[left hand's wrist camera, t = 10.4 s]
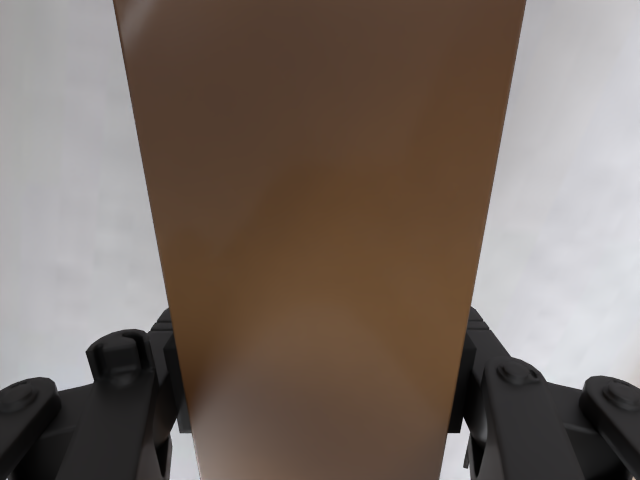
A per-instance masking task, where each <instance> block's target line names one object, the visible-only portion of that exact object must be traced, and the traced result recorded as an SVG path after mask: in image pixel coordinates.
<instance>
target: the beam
mask: <svg viewBox="0 0 640 480" xmlns="http://www.w3.org/2000/svg"><path fill="white" fill-rule="evenodd" d="M113 4H114V9H115V15H116V20H117V26H118V31H119V37H120V42H121V48H122V53H123V59H124V64H125V70H126V75H127V81H128V86H129V91H130V97H131V102H132V108H133V113H134V119H135V124H136V130H137V135H138V141H139V146H140V152H141V157H142V163H143V168H144V174H145V179H146V185H147V190H148V196H149V201H150V206H151V212H152V217H153V223H154V228H155V234H156V239H157V245H158V250H159V256H160V261H161V267H162V272H163V278H164V283H165V289H166V294H167V300H168V305H169V311H170V316H171V321H172V327H173V332H174V338H175V343H176V349H177V354H178V360H179V365H180V371H181V376H182V382H183V387H184V393H185V398H186V404H187V409H188V415H189V420H190V426H191V431H192V436H193V442H194V447H195V453H196V458H197V464H198V469H199V475H200V480H439V477H440V472H441V466H442V461H443V455H444V450H445V444H446V439H447V433H448V428H449V422H450V417H451V411H452V406H453V400H454V395H455V389H456V384H457V378H458V373H459V367H460V362H461V356H462V351H463V345H464V340H465V334H466V329H467V323H468V318H469V312H470V307H471V301H472V296H473V290H474V285H475V279H476V274H477V268H478V263H479V257H480V252H481V246H482V241H483V235H484V230H485V224H486V219H487V213H488V208H489V202H490V197H491V191H492V186H493V180H494V175H495V169H496V164H497V158H498V153H499V147H500V142H501V136H502V131H503V125H504V120H505V114H506V109H507V104H508V98H509V93H510V87H511V82H512V76H513V71H514V65H515V60H516V54H517V49H518V43H519V38H520V32H521V27H522V21H523V16H524V10H525V5H526V0H113Z"/></svg>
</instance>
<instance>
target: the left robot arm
mask: <svg viewBox="0 0 640 480" xmlns="http://www.w3.org/2000/svg"><path fill="white" fill-rule="evenodd" d="M86 355H87V358H88V362H89V365H90V368H91V372H92V375H93V378H94V382H93V383H92V384H89V385H85V386H81V387H76V388H72V389H67V390H63V391H57V388H56V385H55V382H53V381H52V380H51V379H49V378H43V377H37V378H31V379H26V380H23V381H20V382H17V383H14V384H12V385H10V386H8V387H6V388H4V389H2V390H0V480H6V479H7V478H8V480H169V477H170V467H171V456H172V441H171V436H170V431H171V429H172V427H173V425H174V423H175V420H176V418H177V421H178V426H179V431H180V433H192V431H191V426H190V420H189V415H188V409H187V404H186V398H185V393H184V387H183V382H182V376H181V371H180V365H179V360H178V354H177V349H176V343H175V338H174V332H173V327H172V321H171V316H170V311H169V308H168V309H166V310H165V311H164V312H163V313H162V315H161V316H160V317H159V319H158V320H157V323H155V324H154V325H153V327H152V328H151V331H149V332H148V333H146V332H144V331H142V330H137V329H128V330H121V331H117V332H113V333H111V334H108V335H106V336H104V337H102V338H100V339H98V340H97V341H96V342H94V343H93V344H91V346H90V347H89V348H88V349H87V351H86ZM463 417H464V419H465V421H466V424H467V426H468V428H469V430H470V436H469V441H468V445H467V450H466V455H465V459H464V465H463V468H467V469H468V465H469V466H470V476H471V480H632V478H633V476H634V478H635V479H636V480H640V389H639V388H637V387H635V386H633V385H632V384H630V383H628V382H625V381H623V380H620V379H616V378H613V377H607V376H593V377H590V378H589V379H587V380H586V381H585V384H584V387H583V390H580V389H575V388H571V387H566V386H562V385H557V384H553V383H550V382H546V380H545V378H544V377H543V375H542V374H541V372H539V371H538V370H537V369H536V368H534V367H533V366H532V365H530V364H528V363H526V362H524V361H522V360H520V359H516V358H513V357H511V356H510V355H509V353H508V352H507V351H506V349H505V348H504V347H503V345H502V344H501V343H500V341H499V340H498V339H497V337H496V336H495V335H494V333H493V332H492V331H491V330H489V327H488V325H487V324H486V323H485V322H483V319H482V317H481V316H480V315H479V313H478V312H477V311H476V310H475V309H474V308H472V307H470V312H469V318H468V323H467V329H466V334H465V340H464V345H463V351H462V356H461V362H460V367H459V373H458V378H457V384H456V389H455V395H454V400H453V406H452V411H451V417H450V422H449V428H448V433H460V430H461V425H462V420H463Z"/></svg>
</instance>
